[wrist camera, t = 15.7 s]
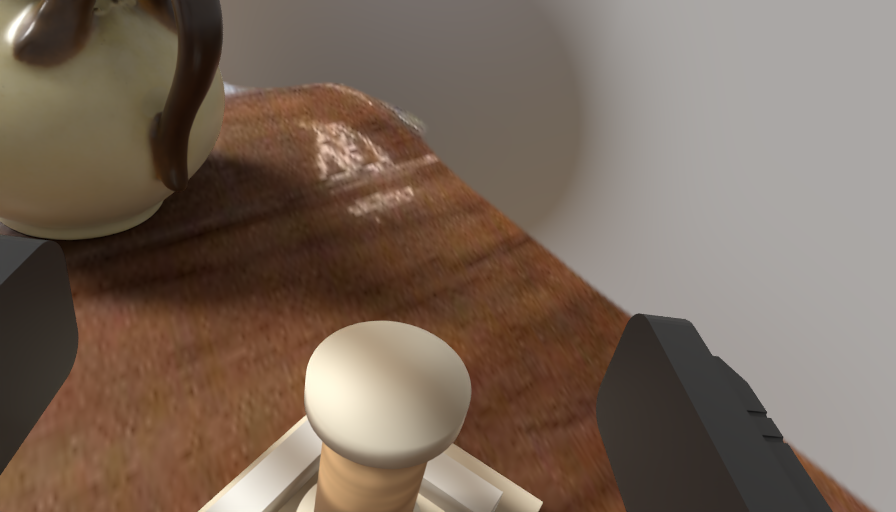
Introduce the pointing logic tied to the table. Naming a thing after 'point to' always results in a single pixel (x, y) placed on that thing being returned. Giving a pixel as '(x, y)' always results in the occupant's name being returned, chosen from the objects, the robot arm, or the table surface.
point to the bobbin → (381, 414)
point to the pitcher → (104, 110)
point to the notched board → (297, 466)
